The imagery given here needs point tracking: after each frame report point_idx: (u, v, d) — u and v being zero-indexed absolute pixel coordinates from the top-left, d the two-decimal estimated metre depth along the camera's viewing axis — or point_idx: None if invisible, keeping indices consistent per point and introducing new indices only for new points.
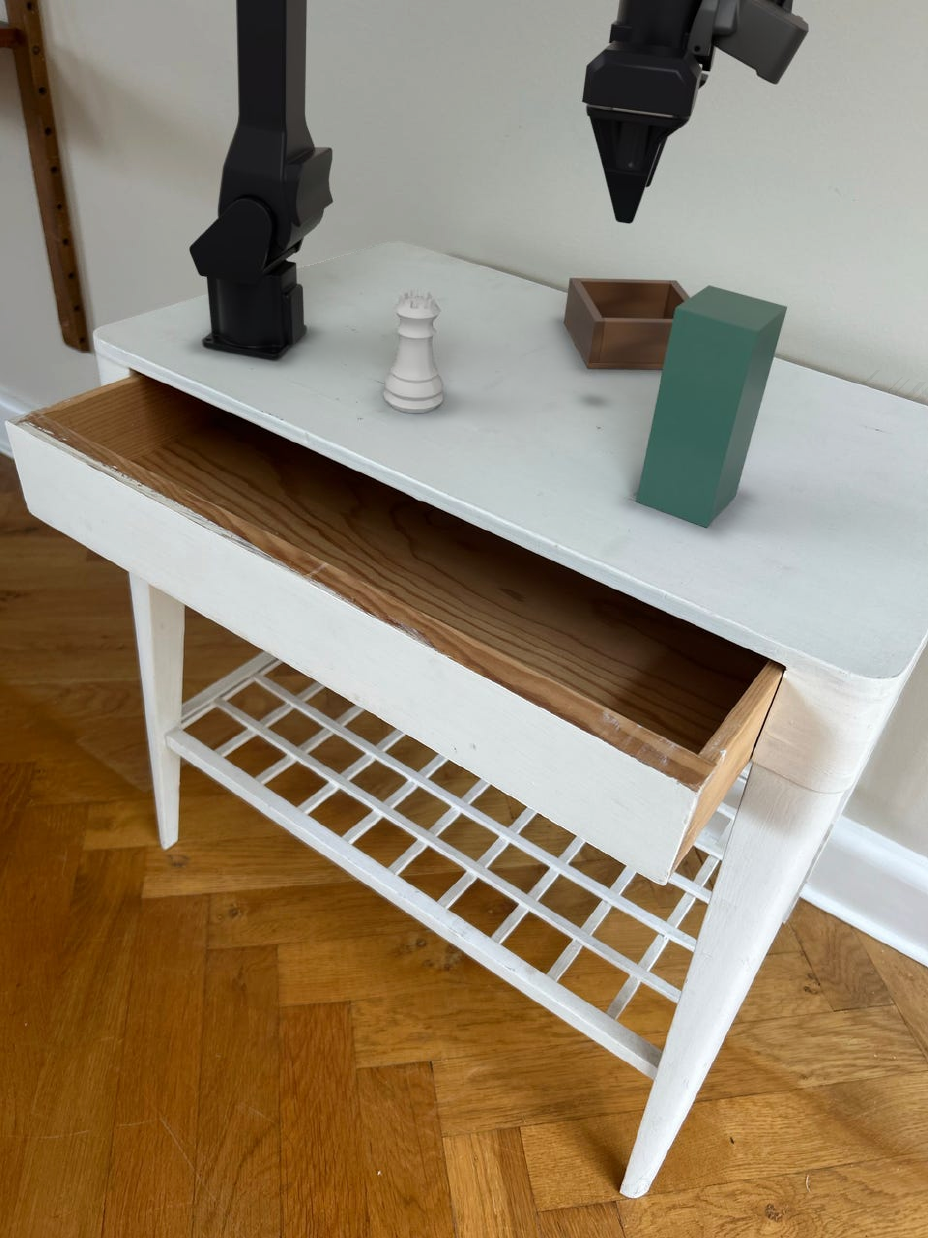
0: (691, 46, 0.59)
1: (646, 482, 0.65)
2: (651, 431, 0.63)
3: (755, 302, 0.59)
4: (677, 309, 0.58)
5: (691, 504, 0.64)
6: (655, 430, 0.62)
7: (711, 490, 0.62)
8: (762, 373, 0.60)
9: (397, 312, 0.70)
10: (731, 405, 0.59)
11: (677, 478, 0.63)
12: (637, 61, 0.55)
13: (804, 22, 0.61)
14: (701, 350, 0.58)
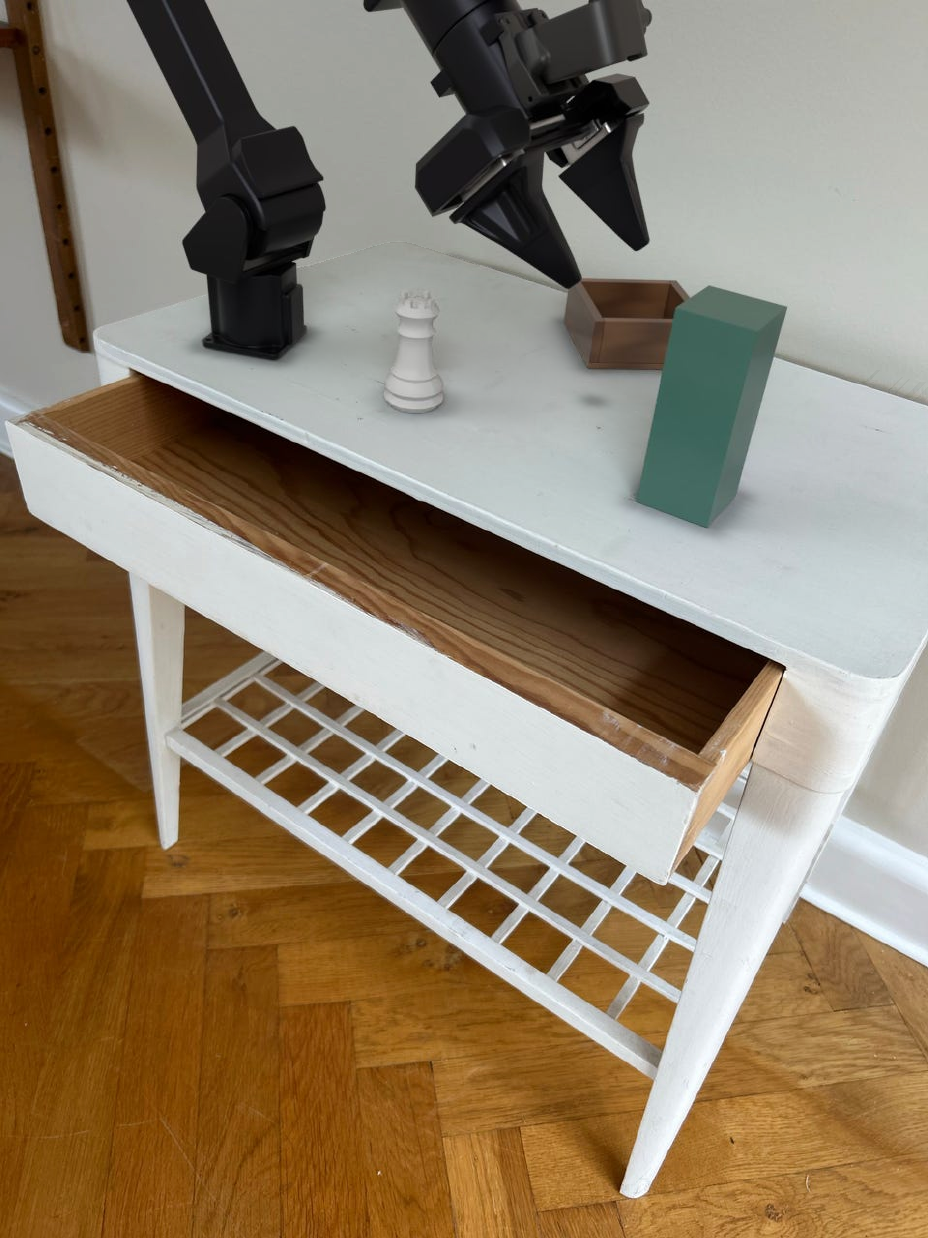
0: (525, 101, 0.56)
1: (646, 482, 0.65)
2: (651, 431, 0.63)
3: (755, 302, 0.59)
4: (677, 309, 0.58)
5: (691, 504, 0.64)
6: (655, 430, 0.62)
7: (711, 490, 0.62)
8: (762, 373, 0.60)
9: (397, 312, 0.70)
10: (731, 405, 0.59)
11: (677, 478, 0.63)
12: (437, 149, 0.54)
13: None
14: (701, 350, 0.58)
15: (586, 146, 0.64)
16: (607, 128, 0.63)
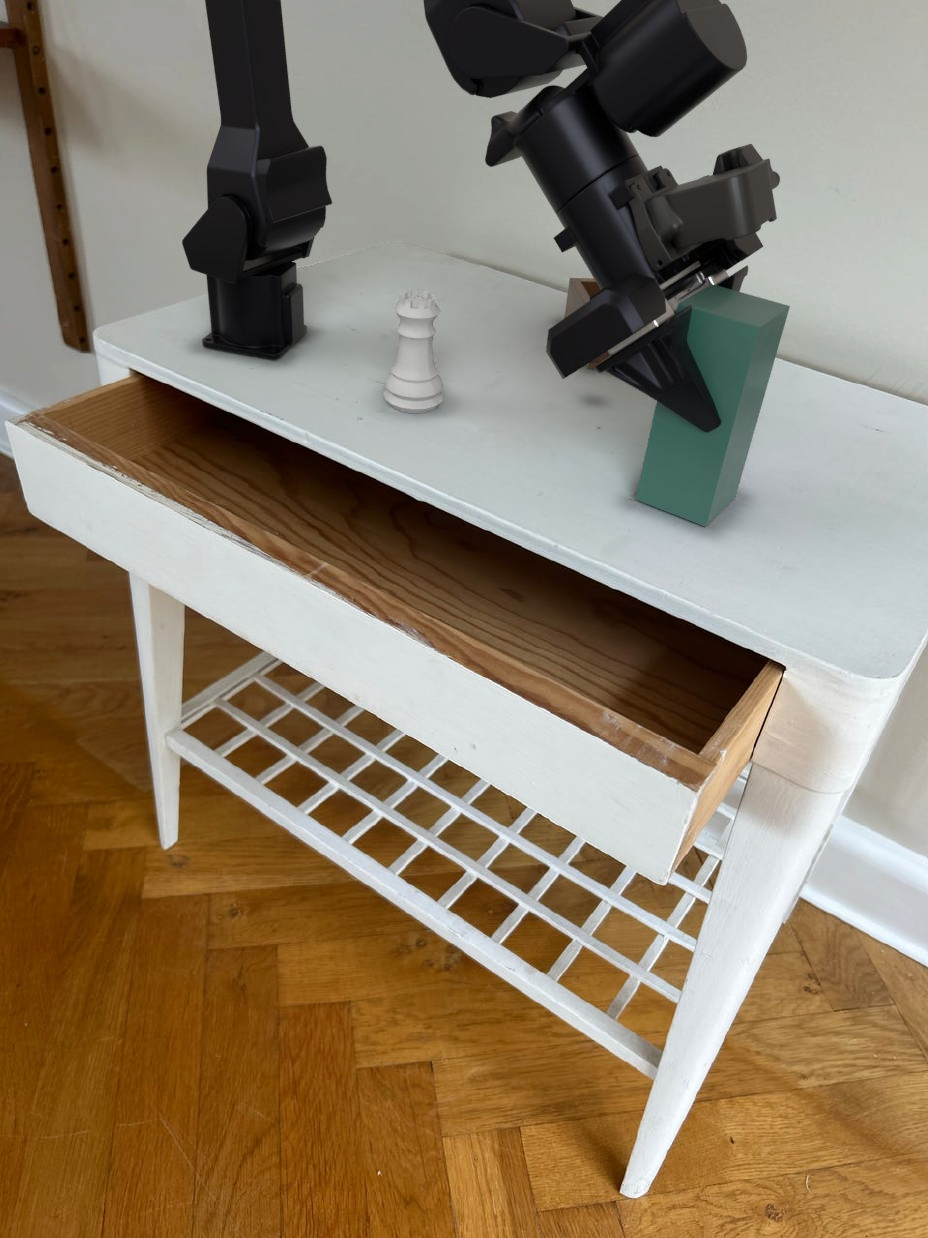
0: (654, 264, 0.57)
1: (646, 480, 0.65)
2: (652, 428, 0.63)
3: (757, 301, 0.59)
4: (680, 305, 0.58)
5: (690, 503, 0.63)
6: (656, 427, 0.62)
7: (710, 488, 0.62)
8: (764, 372, 0.60)
9: (397, 312, 0.70)
10: (732, 401, 0.59)
11: (677, 476, 0.63)
12: (573, 319, 0.54)
13: (760, 163, 0.55)
14: (703, 346, 0.58)
15: (688, 297, 0.63)
16: (711, 282, 0.62)
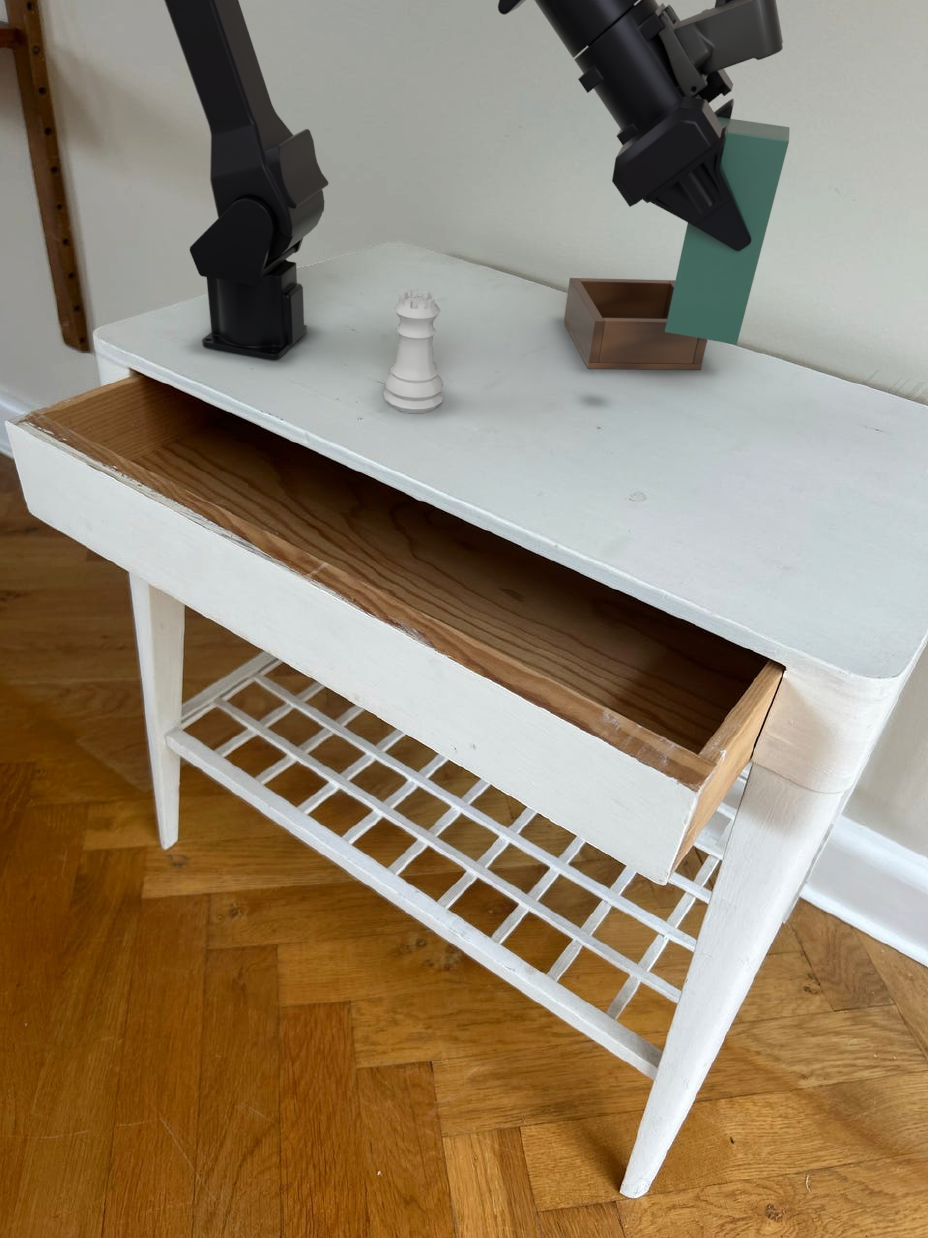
0: (688, 91, 0.61)
1: (676, 310, 0.69)
2: (681, 257, 0.67)
3: (763, 125, 0.65)
4: None
5: (721, 324, 0.69)
6: (686, 256, 0.67)
7: (741, 305, 0.68)
8: None
9: (397, 312, 0.70)
10: (762, 217, 0.65)
11: (707, 300, 0.68)
12: (645, 142, 0.58)
13: None
14: (733, 167, 0.63)
15: None
16: None
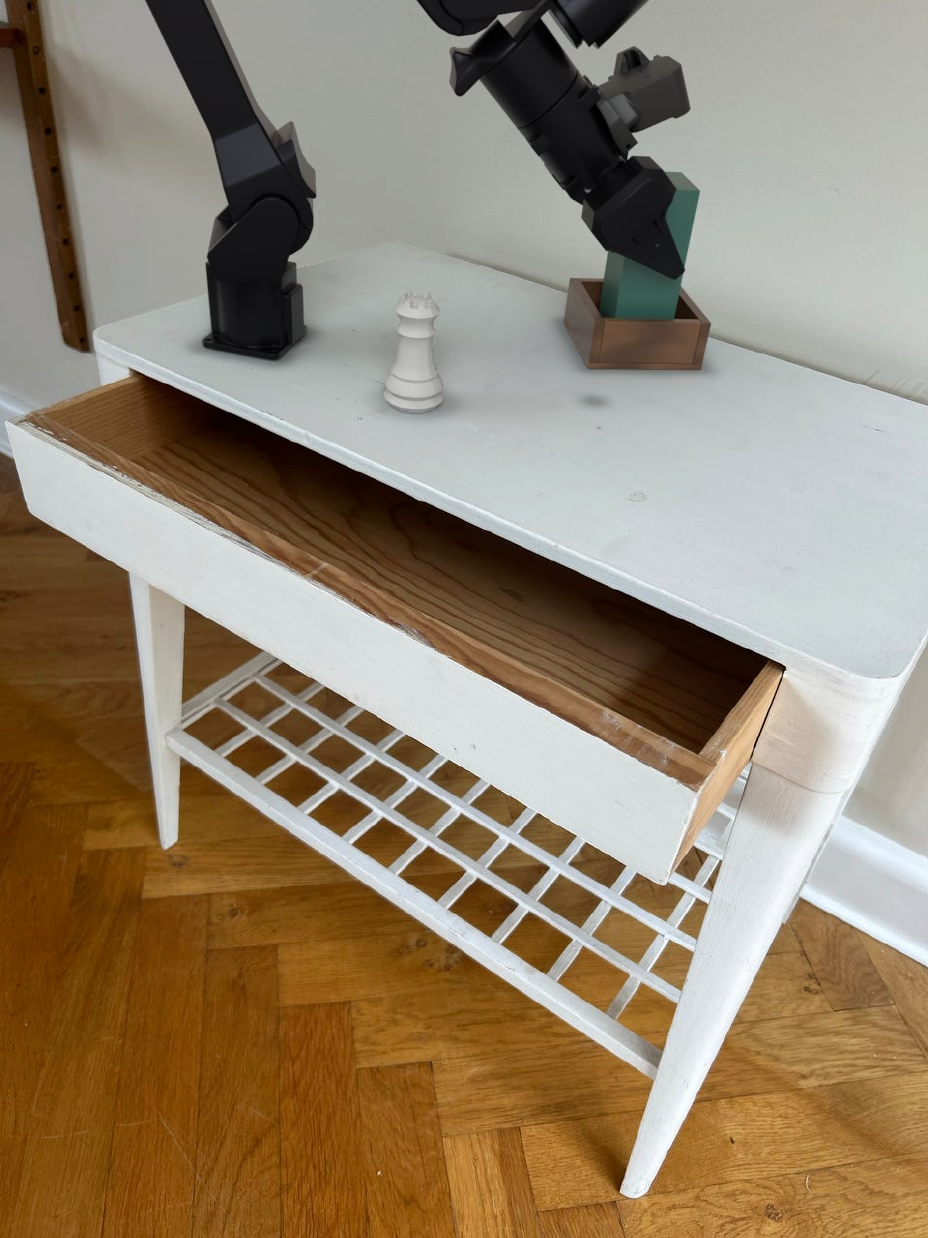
0: (623, 148, 0.73)
1: None
2: (620, 291, 0.80)
3: None
4: None
5: None
6: (623, 289, 0.80)
7: None
8: None
9: (397, 312, 0.70)
10: (682, 251, 0.79)
11: None
12: (620, 199, 0.69)
13: (666, 58, 0.74)
14: None
15: None
16: None
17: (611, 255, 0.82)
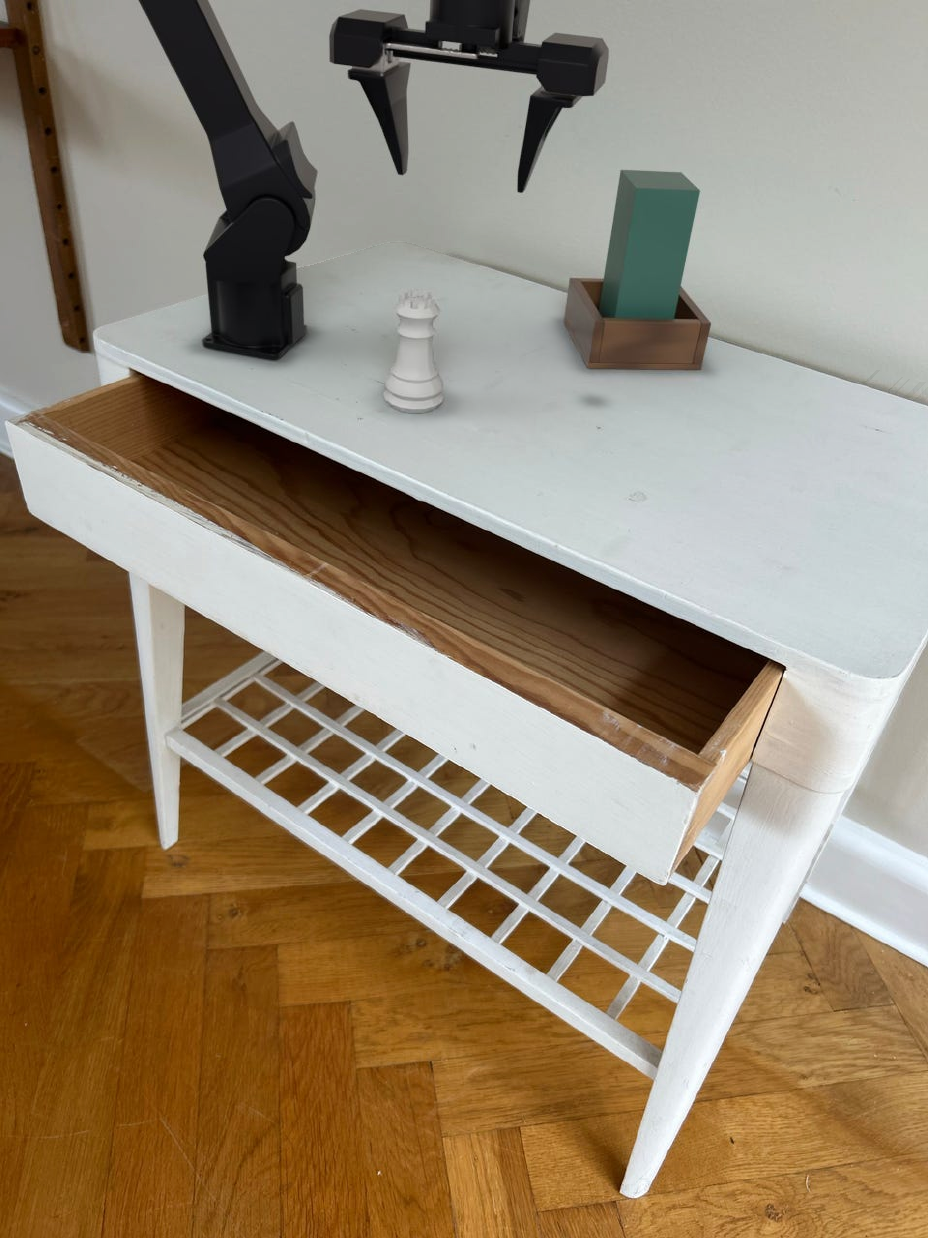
0: (518, 31, 0.70)
1: None
2: (620, 291, 0.80)
3: (663, 174, 0.79)
4: (638, 188, 0.75)
5: None
6: (623, 289, 0.80)
7: None
8: None
9: (397, 312, 0.70)
10: (682, 251, 0.79)
11: None
12: (601, 49, 0.67)
13: None
14: (658, 215, 0.77)
15: (391, 64, 0.71)
16: None
17: (611, 255, 0.82)
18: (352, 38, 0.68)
